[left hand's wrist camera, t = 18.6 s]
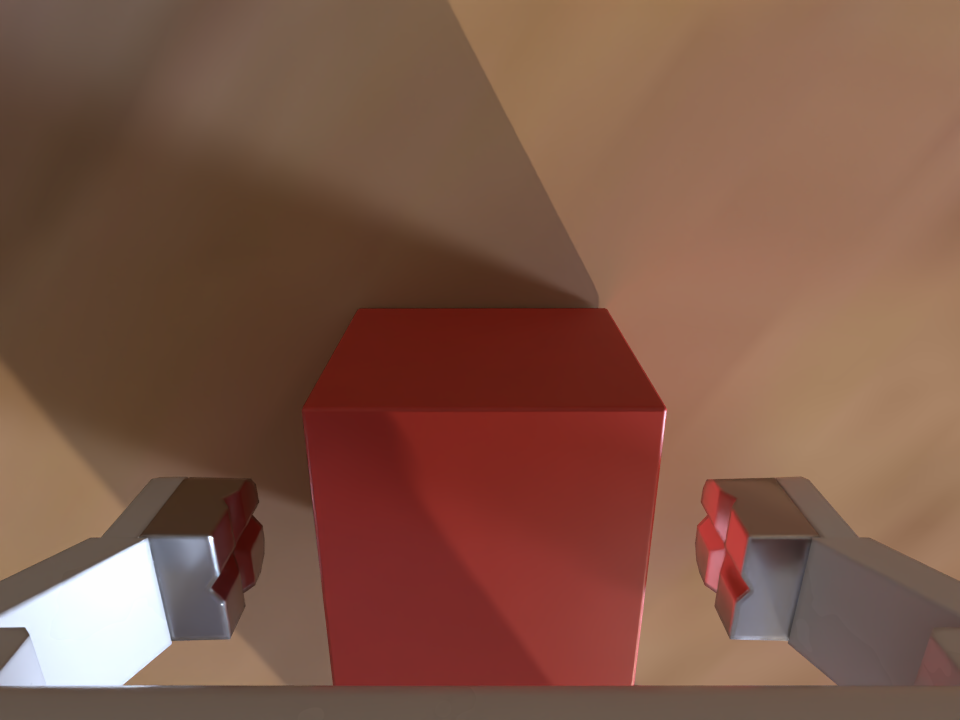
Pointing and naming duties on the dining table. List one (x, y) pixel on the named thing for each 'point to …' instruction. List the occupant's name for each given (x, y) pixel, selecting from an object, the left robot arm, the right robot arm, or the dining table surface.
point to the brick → (483, 497)
